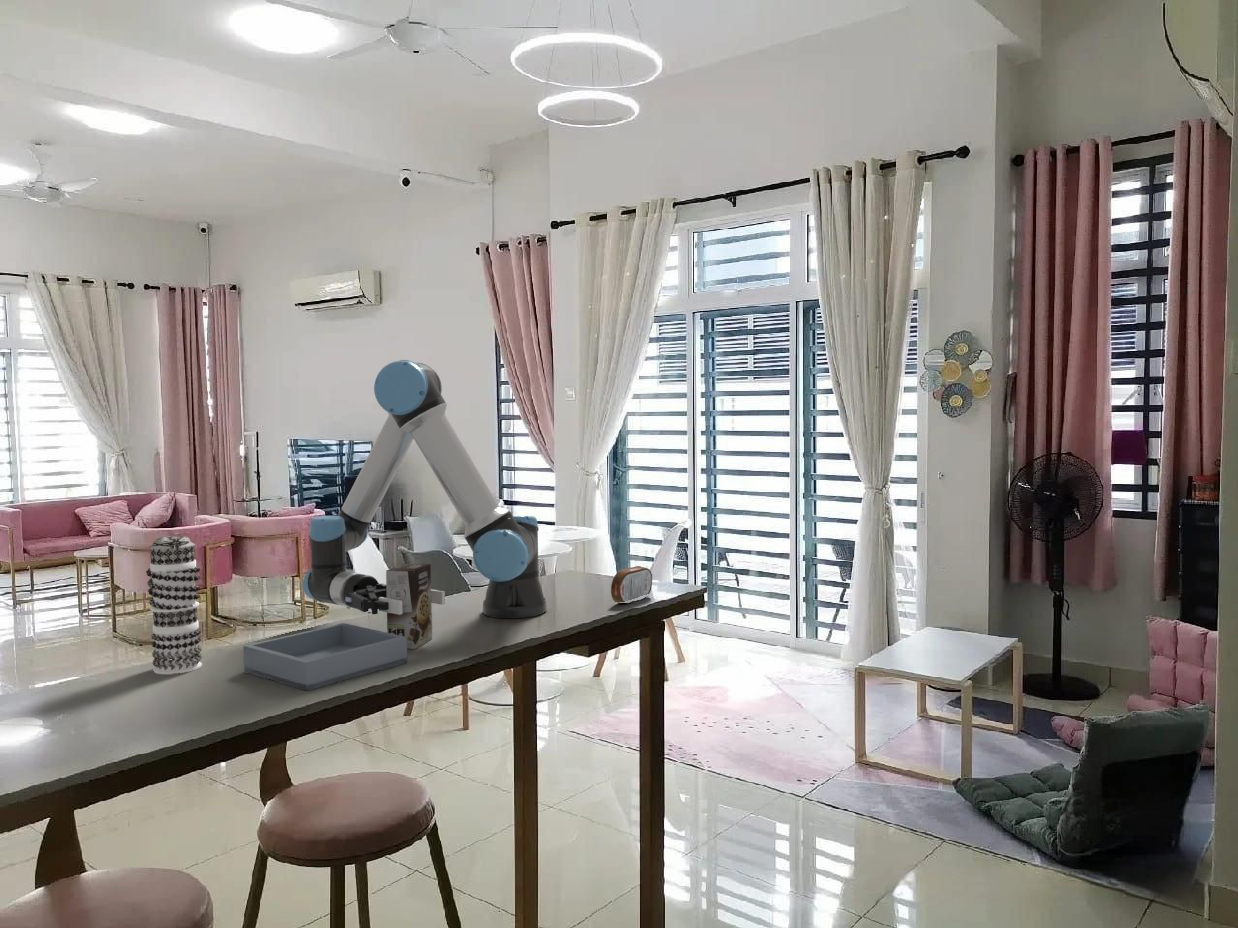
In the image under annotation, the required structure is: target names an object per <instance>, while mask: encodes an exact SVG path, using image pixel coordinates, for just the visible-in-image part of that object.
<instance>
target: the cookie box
mask: <svg viewBox="0 0 1238 928" xmlns="http://www.w3.org/2000/svg"><path fill="white" fill-rule="evenodd" d="M431 566H432V565H431V563H403V564H400V565H397V566H395V567H392V568H389V569H386V570H385V576H386V578H385V579H386V581H385V583H386V584H385V585H386V592H387V593H386V594H387V598H390V599H395V600H401V601H402V613H403V614H401V615H398V614H393V613H388V612H386V631H387V632H386V633H391V634H395V635H400V636H404V637H406V641H407V650H415V649H417V648H419V647H421V646H422V645H424V644H425V643H427V642H429V641H431V640H432V639H433V610H432V607H433V606H432V604H433V603H431V589H432V573H431V572H432V571H431V570H432V569H431V568H432V567H431Z"/></svg>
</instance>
